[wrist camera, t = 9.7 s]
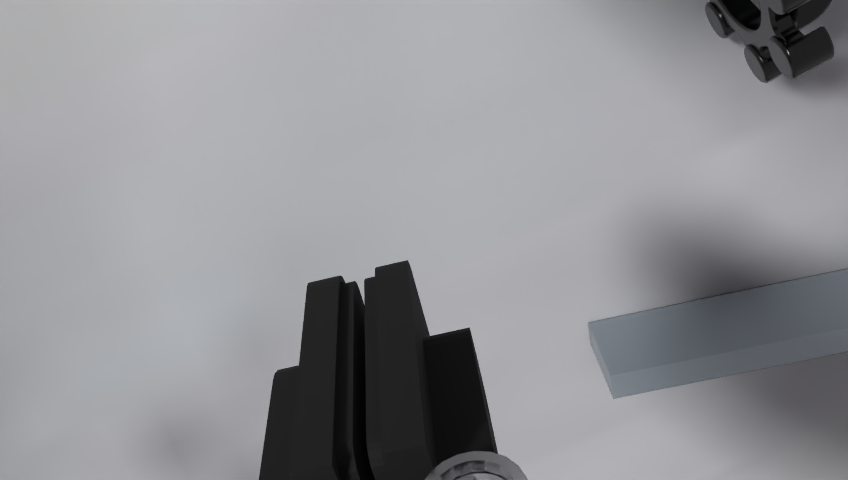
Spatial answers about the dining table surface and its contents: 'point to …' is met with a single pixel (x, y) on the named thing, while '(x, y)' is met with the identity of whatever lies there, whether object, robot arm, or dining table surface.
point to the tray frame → (723, 334)
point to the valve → (774, 34)
